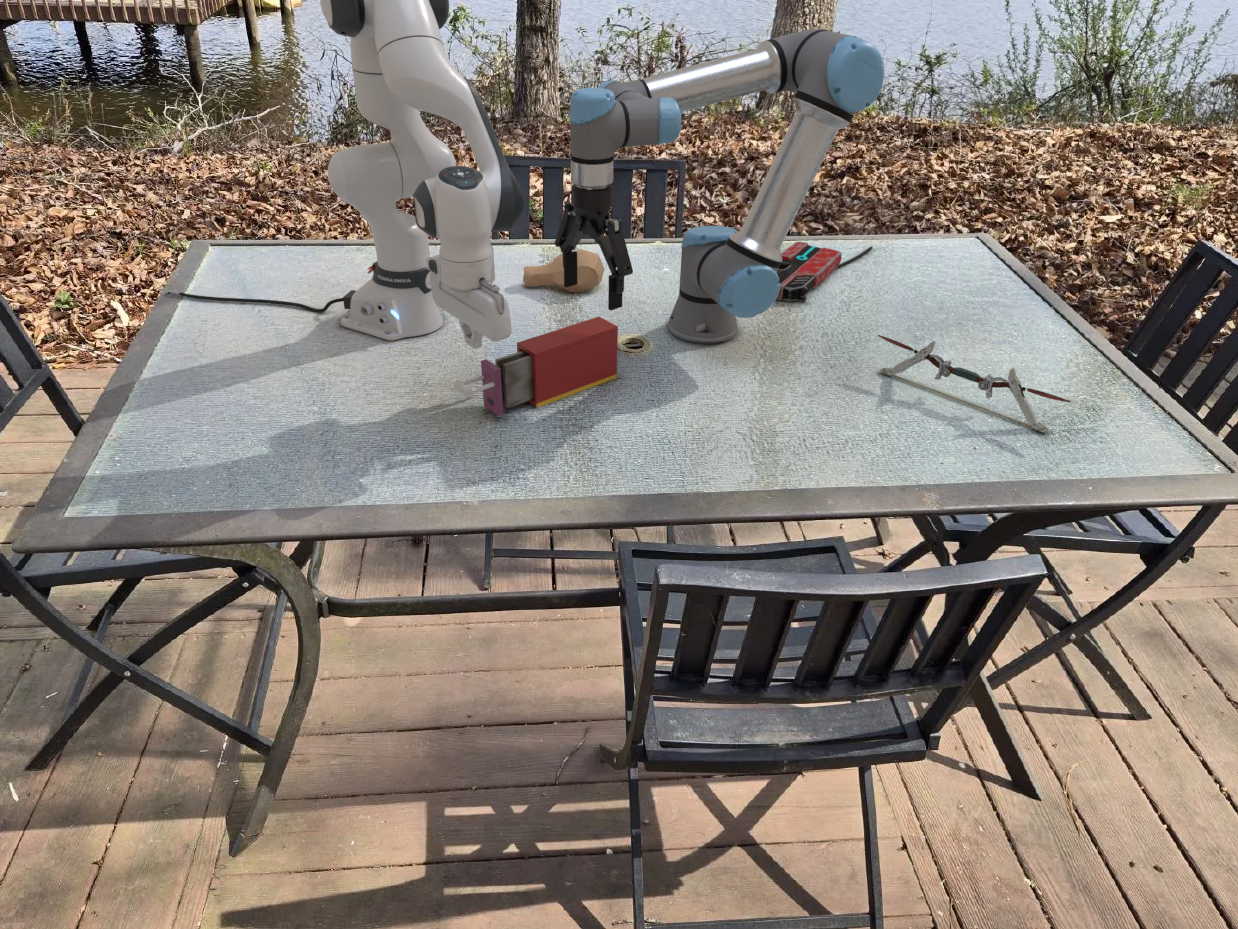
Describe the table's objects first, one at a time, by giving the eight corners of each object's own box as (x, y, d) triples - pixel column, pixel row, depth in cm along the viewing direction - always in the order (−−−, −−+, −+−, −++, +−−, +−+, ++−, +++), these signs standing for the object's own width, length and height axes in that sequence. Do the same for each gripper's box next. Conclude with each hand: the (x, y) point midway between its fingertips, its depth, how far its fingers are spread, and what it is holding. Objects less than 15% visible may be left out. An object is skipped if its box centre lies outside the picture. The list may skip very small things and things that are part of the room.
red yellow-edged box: (536, 407, 166) (535, 354, 160) (518, 395, 170) (516, 342, 163) (616, 377, 177) (618, 326, 170) (598, 367, 180) (598, 316, 174)
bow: (1060, 435, 162) (1077, 387, 156) (1056, 439, 161) (1073, 391, 155) (873, 366, 183) (882, 322, 178) (869, 369, 182) (878, 325, 177)
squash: (606, 296, 211) (601, 263, 205) (524, 303, 213) (517, 271, 207) (606, 272, 219) (602, 240, 213) (527, 279, 221) (521, 248, 214)
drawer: (469, 426, 158) (465, 380, 153) (455, 415, 161) (451, 370, 156) (577, 386, 171) (577, 342, 166) (563, 377, 174) (562, 333, 169)
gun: (728, 271, 214) (803, 290, 206) (777, 233, 236) (846, 249, 228) (726, 288, 217) (800, 308, 209) (775, 249, 239) (843, 266, 231)
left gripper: (518, 284, 141) (522, 362, 149) (452, 248, 154) (459, 321, 162) (485, 294, 138) (490, 372, 145) (421, 256, 151) (428, 330, 158)
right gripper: (655, 197, 149) (650, 312, 161) (566, 164, 165) (568, 272, 176) (621, 205, 145) (619, 323, 157) (534, 171, 161) (538, 280, 172)
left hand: (473, 345), depth 154 cm, fingers closed
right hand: (592, 296), depth 167 cm, fingers open, 13 cm apart
